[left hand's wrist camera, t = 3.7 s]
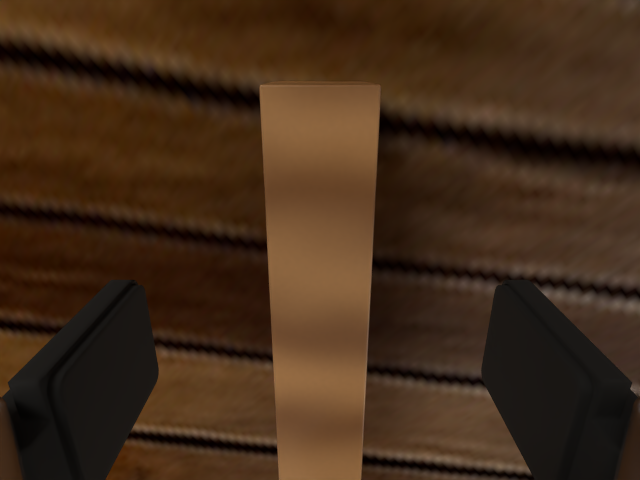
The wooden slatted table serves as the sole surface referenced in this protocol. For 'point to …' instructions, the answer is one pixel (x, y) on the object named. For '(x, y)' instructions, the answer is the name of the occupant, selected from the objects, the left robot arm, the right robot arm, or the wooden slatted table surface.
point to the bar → (320, 267)
